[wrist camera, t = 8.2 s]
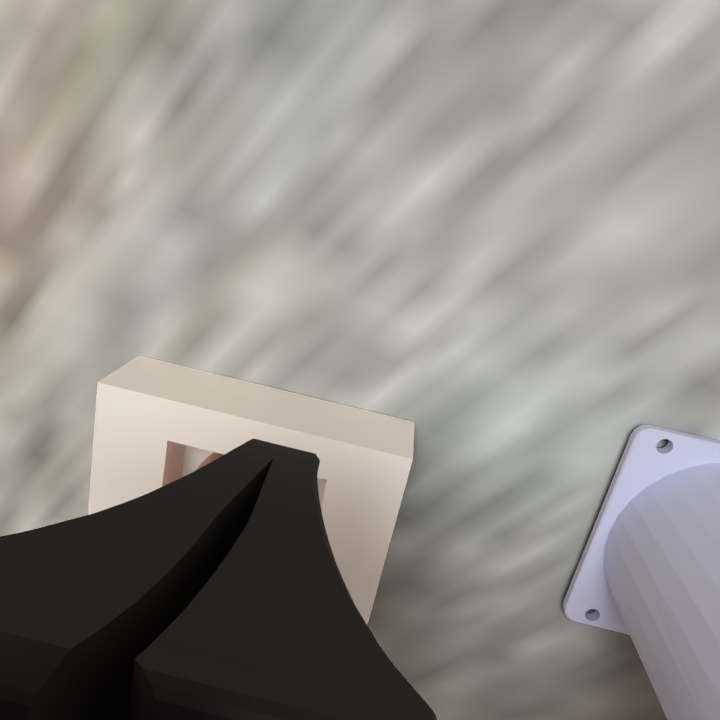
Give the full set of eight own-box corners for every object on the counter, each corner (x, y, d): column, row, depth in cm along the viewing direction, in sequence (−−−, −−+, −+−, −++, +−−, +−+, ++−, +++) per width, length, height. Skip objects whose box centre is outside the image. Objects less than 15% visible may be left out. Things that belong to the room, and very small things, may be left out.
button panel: (414, 422, 21) (412, 459, 18) (294, 867, 28) (281, 940, 26) (139, 355, 21) (97, 382, 18) (94, 813, 29) (61, 879, 26)
